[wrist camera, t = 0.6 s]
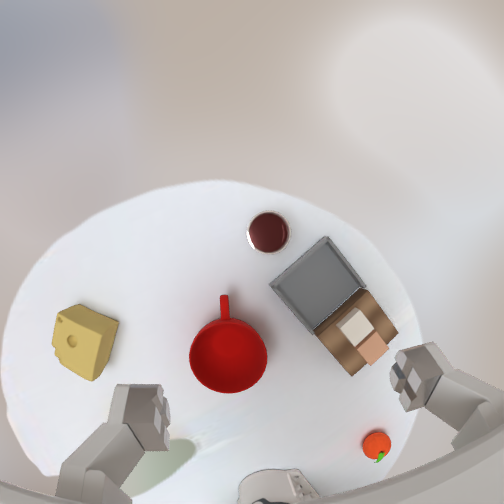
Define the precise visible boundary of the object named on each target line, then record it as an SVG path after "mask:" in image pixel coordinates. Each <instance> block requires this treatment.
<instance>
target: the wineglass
mask: <svg viewBox="0 0 504 504" xmlns="http://www.w3.org/2000/svg"><path fill="white" fill-rule="evenodd" d="M246 237H247V240H248V243H249V244H250V246H251V247H252V248H253V249H254V250H255V251H257V252H259V253H262V254H276V253H279V252H280V251H282V250H283V249H284V248H285V247H286V246H287V244H288V243H289V240H290V237H291V228H290V225H289V222H288V221H287V220H286V218H285V217H284V216H283V215H281V214H280V213H278V212H275V211H263V212H260V213H258V214H257V215H255V216H254V217H253V218H252V219H251V220H250V222H249V223H248V226H247V229H246Z"/></svg>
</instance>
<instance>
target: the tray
mask: <svg viewBox="0 0 504 504" xmlns="http://www.w3.org/2000/svg"><path fill="white" fill-rule="evenodd" d="M269 285H270V287H271V288H272V289H273V290H274V291H275V292H276V294H277V295H278V296H279V297H280V298H281V299H282V301H283V302H284V303H285V304H286V305H287V306H288V308H289V309H290V310H291V311H292V312H293V313H294V314H295V316H296V317H297V318H298V319H299V320H300V321H301V323H302V324H303V325H304V326H305V327H306V328H307V330H308V331H309V332H310V333H311V334H312V335H313V334H314V331H313V330H312V329H313V328H314V327H315V326H316V325H318V324H319V323H320V322H321V321H322V320H323V319H324V318H326V317H327V316H328V315H329V314H330V313H331V312H332V311H333V310H335V309H336V308H337V307H338V306H339V305H340V304H341V303H342V302H343V301H344V300H345V299H347V298H348V297H349V296H350V295H351V294H352V293H353V292H354V291H355V290H356V289H357V288H358V287H362V288H365V287H366V285H365V284H364V282H363V281H362V280H361V278H360V277H359V276H358V274H357V273H356V272H355V270H354V269H353V268H352V266H351V265H350V264H349V262H348V261H347V260H346V259H345V257H344V256H343V255H342V253H341V252H340V251H339V250H338V248H337V247H336V246H335V244H334V243H333V242H332V241H331V239H330V238H329V237H323V238H322V239H321V240H319V241H318V242H317V243H316V244H315V245H314V246H313V247H312V248H310V249H309V250H308V251H307V252H306V253H305V254H304V255H302V256H301V257H300V258H299V259H298V260H297V261H296V262H294V263H293V264H292V265H291V266H290V267H289V268H288V269H286V270H285V271H284V272H283V273H282V274H281V275H279V276H278V277H277V278H276V279H275V280H274V281H272V282H271V283H270V284H269Z"/></svg>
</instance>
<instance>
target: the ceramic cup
mask: <svg viewBox="0 0 504 504" xmlns="http://www.w3.org/2000/svg"><path fill="white" fill-rule="evenodd" d="M220 310H221V318H220V319H218V320H215V321H212V322H210V323H209V324H207V325H206V326H205V327H203V328H202V329H201V330H200V331H199V333H198V334H197V335H196V337H195V338H194V341H193V343H192V345H191V348H190V353H189V362H190V366H191V369H192V371H193V373H194V375H195V377H196V378H197V379H198V381H200V382H201V383H202V384H203V385H204V386H206V387H207V388H209V389H211V390H214V391H216V392H220V393H237V392H241V391H244V390H246V389H248V388H250V387H252V386H253V385H254V384H255V383H257V382H258V380H259V379H260V378H261V377H262V375H263V373H264V371H265V368H266V365H267V351H266V347H265V345H264V342H263V340H262V339H261V337H260V336H259V334H258V333H257V332H256V331H255V330H254V329H253V328H252V327H251V326H250V325H248V324H247V323H246V322H243V321H241V320H238V319H234V318H230V314H229V300H228V295H221V296H220Z"/></svg>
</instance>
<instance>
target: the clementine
mask: <svg viewBox="0 0 504 504" xmlns="http://www.w3.org/2000/svg"><path fill="white" fill-rule="evenodd" d="M390 448H391V440H390V438H389V437H388V436H387V435H386V434H384V433H381V432H377V433H373V434H371V435H369V436H368V437H367V438H366V439H365V441H364V443H363V452H364V454H365V455H366V456H367V457H368V458H371V459H377V461H376V463H377V462H379V461H380V460H381V459H382V458H383V457H384V456H386V455H387V454H388V452H389V451H390ZM374 463H375V462H374Z"/></svg>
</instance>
